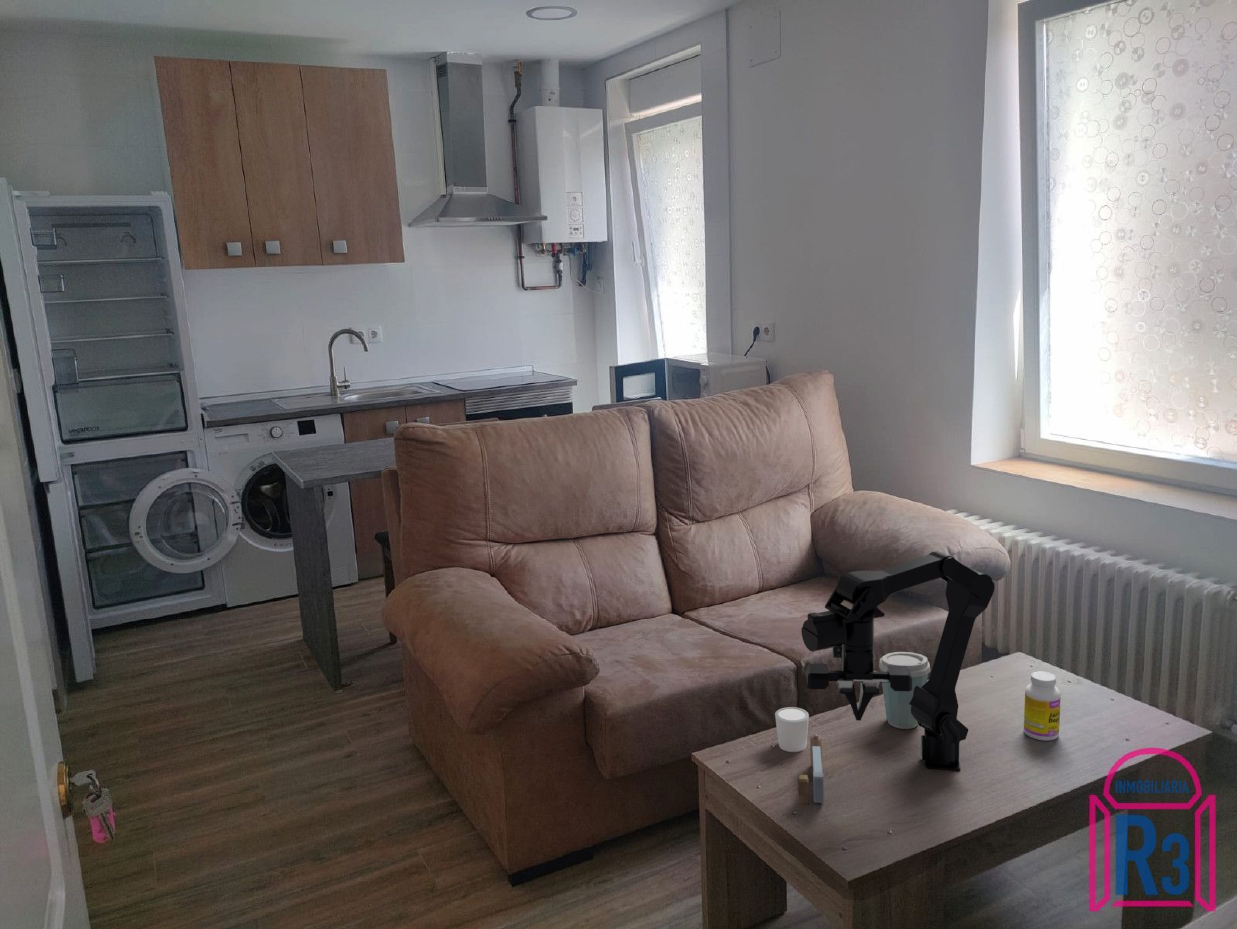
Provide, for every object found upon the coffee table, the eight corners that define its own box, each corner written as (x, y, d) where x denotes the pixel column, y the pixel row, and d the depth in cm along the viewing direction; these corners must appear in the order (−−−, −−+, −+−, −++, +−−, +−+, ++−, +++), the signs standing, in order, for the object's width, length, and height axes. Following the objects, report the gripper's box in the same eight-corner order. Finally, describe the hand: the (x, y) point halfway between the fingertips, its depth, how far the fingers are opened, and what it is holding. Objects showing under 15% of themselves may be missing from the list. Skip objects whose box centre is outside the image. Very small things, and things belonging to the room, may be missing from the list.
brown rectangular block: (808, 799, 172) (808, 774, 171) (808, 804, 170) (808, 779, 169) (799, 798, 172) (798, 774, 171) (798, 804, 170) (798, 779, 169)
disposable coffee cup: (867, 719, 201) (867, 654, 198) (903, 706, 206) (903, 643, 203) (904, 739, 192) (904, 671, 189) (941, 725, 197) (941, 658, 194)
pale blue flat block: (810, 762, 184) (810, 732, 183) (821, 762, 184) (821, 732, 182) (812, 803, 170) (812, 772, 168) (825, 804, 169) (824, 772, 168)
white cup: (809, 754, 188) (808, 722, 186) (775, 752, 189) (774, 721, 188) (809, 738, 194) (808, 707, 193) (776, 736, 196) (775, 705, 194)
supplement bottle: (1050, 745, 186) (1052, 685, 184) (1017, 734, 191) (1019, 676, 188) (1064, 733, 190) (1067, 675, 188) (1032, 723, 195) (1034, 666, 193)
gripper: (904, 626, 177) (904, 702, 180) (805, 624, 180) (806, 699, 183) (912, 648, 166) (912, 729, 169) (806, 646, 170) (808, 725, 173)
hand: (858, 719), depth 174 cm, fingers closed
